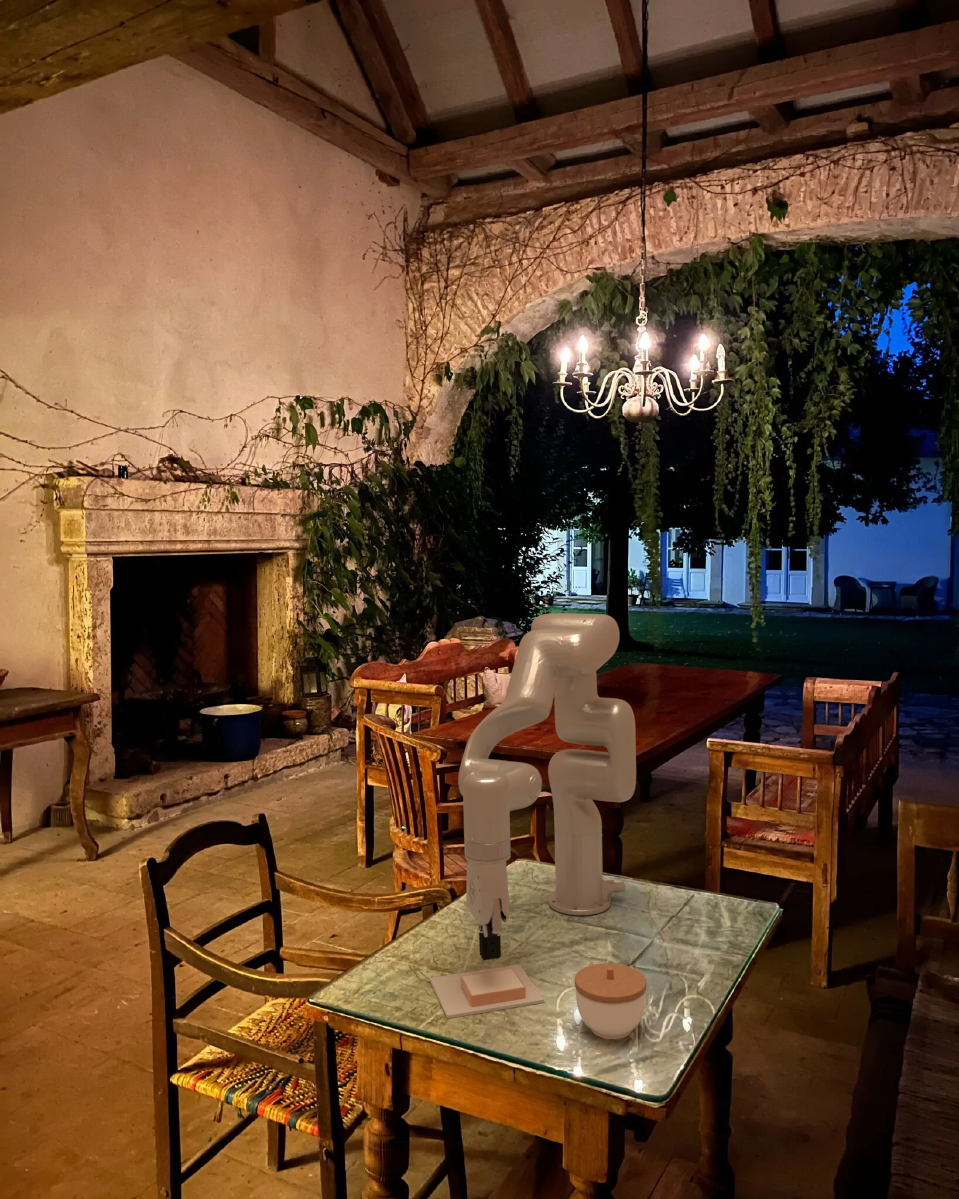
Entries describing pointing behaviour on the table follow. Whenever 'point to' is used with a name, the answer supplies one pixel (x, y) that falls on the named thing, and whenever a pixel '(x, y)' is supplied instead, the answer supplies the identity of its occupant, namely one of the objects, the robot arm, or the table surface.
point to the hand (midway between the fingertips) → (490, 956)
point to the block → (492, 987)
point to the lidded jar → (610, 999)
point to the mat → (459, 1006)
